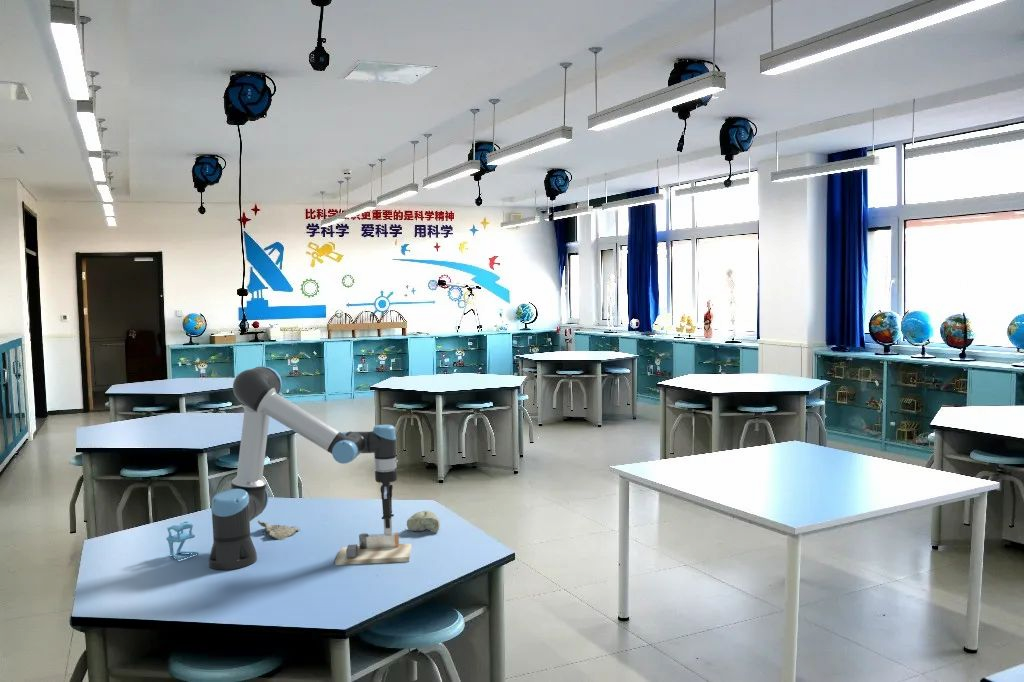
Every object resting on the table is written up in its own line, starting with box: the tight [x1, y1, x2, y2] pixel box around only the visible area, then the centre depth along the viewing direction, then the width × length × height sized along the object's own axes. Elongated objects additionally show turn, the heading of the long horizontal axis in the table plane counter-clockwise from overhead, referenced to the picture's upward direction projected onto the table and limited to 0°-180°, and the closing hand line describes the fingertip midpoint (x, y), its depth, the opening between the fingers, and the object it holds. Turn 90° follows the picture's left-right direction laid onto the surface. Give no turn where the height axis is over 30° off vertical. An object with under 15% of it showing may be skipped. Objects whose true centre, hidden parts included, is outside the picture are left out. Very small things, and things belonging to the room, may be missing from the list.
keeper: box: [346, 544, 359, 559], centre depth 255 cm, size 3×5×3 cm, turn 4°
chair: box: [165, 521, 199, 561], centre depth 263 cm, size 8×8×12 cm
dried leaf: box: [257, 520, 300, 541], centre depth 287 cm, size 18×16×5 cm
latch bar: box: [358, 532, 400, 549], centre depth 263 cm, size 13×3×4 cm, turn 94°
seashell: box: [406, 510, 441, 534], centre depth 285 cm, size 13×8×10 cm
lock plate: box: [334, 543, 412, 566], centre depth 258 cm, size 24×14×2 cm, turn 94°
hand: (388, 536), depth 267 cm, fingers closed
